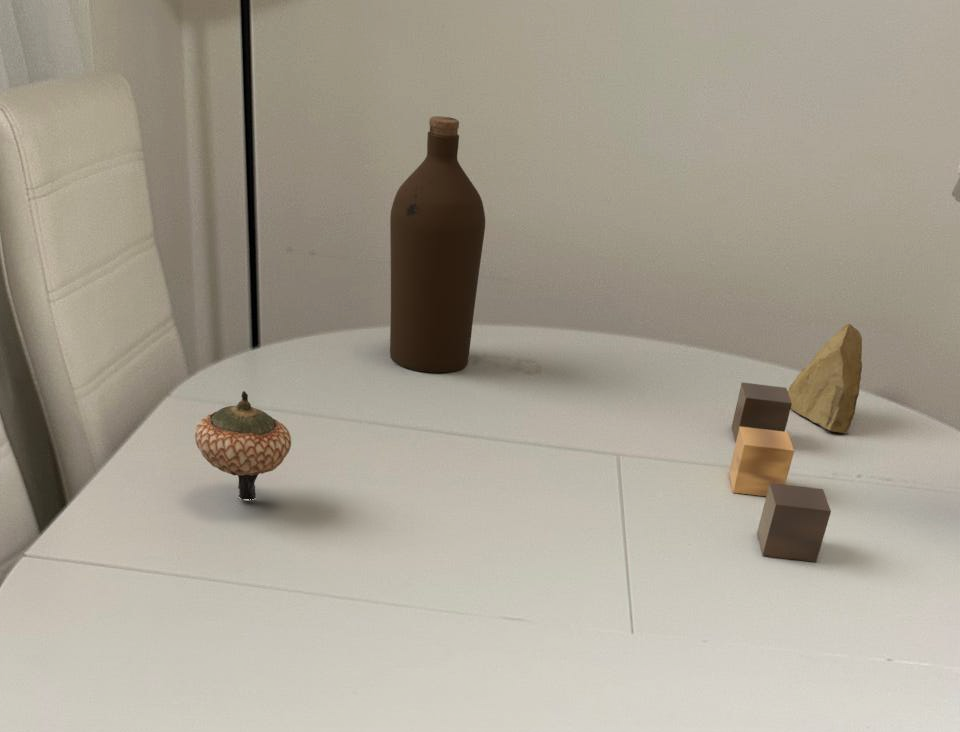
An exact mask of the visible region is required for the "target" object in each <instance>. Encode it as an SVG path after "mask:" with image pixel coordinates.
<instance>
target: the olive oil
mask: <svg viewBox="0 0 960 732" xmlns="http://www.w3.org/2000/svg"><path fill="white" fill-rule="evenodd" d="M428 125H429V131H427V141H426V143H427V144H426V156H425V158H424V160H423V161H422V162H421V163H420V164H419V165H418V166H417V167H416V169H414V171H413V172H412V173H411V174H410V175H408V177H407V178H406V179H405V180H404V181H403V182H402V184H401V185H399V188H398V189H397V190H396V193H395V196H394V199H393V202H392V205H391V209H390V216H389V217H390V218H389V220H390V221H389V224H390V225H389V227H390V229H389V230H390V231H389V232H390V235H389V236H390V238H389V239H390V328H389V330H390V332H389V336H390V337H389V357H390V359H391V360H392V361H393V362H394V363H395V364H397V365H398V366H400V367H403V368H406V369H409V370H413V371H419V372H426V373H451V372H456V371H460V370H462V369H464V368H465V367H466V366H468V364H469V360H470V351H471V341H472V332H473V325H474V323H473V322H474V315H475V308H476V307H475V306H476V298H477V291H478V282H479V275H480V270H481V269H480V268H481V262H482V253H483V246H484V239H485V231H486V213H485V208H484V207H485V206H484V204H483V203H484V202H483V200H482V197H481V195H480V193H479V191H478V190H477V188H476V187H475V185H474V184H473V182H472V181H471V179H470V178H469V177H468V174H467V173H466V172H465V170H464V169H463V168H462V166H461V164H460V162H459V159H458V155H459V153H458V152H459V144H460V141H459V140H460V135H459V134H458V132H459V128H460V121H459V120H458V119H457V118H454V117H450V116H441V115H440V116H431V117H430V118H429V123H428Z"/></svg>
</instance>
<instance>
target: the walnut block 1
mask: <svg viewBox="0 0 960 732" xmlns="http://www.w3.org/2000/svg"><path fill="white" fill-rule="evenodd" d="M788 391H789V390H788V389H787V387H784V386H775V385H768V384H759V383H752V382H751V383H750V382H741V384H740V388H739V392H738V397H737V400H736V405H735V408H734V409H735V410H734V415H733V419H732V423H731V430H732V434H733V438H734V442H735V444H736V439H737V435H738V431H739V427H740V426H741V427H749V428H758V429H766V430H775V431H783V432H786V428H787V424H788V420H789V417H790V413H791V410H792V409H791V405H792V402H791V399H790V397H789V394H788Z"/></svg>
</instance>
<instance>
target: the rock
mask: <svg viewBox="0 0 960 732" xmlns="http://www.w3.org/2000/svg"><path fill="white" fill-rule="evenodd" d="M862 342H863V337H862V334H861V333H860V331H859V330H858V329H857V328H856V327H854V326H853V325H852V324H850V323H845V324H844V325H843V327H842V328H841V329H840V330H839V331H838V332H837V333H836V334H834V335H833V336H832V337H831V338H830V340H827V342H826V343H825V344H824V345H823V346H822V348H821V349H820V350H819V351H818V352H817V353H816V354H815V355H814V357H813V358H812V361H809V364H808V365H806V366H805V367H804V368H803V369H802V370H801V371H800V372H799V373H798V374H797V376H796V377H795V379H793V381H792V382H791V384H790V386H789V387H788V390H787V391H788V394H789V397H790V399H791V402H792V405H791V409H790V410H792V411H794V412H795V413H797V414H798V415H800V416H802V417H804V418H806V419H808V420H809V421H810V422H812V423H814V424H817V425H819V426H821V428H823V429H825V430H827V431H829V432H833V433H840V434H847V432H848V431H849V428H850V427H851V424H852V423H851V422H852V420H853V419H854V416H855V414H856V406H857V401H858V398H859V395H860V384H861V380H862V371H863V362H862V355H863V353H862V352H863V343H862Z"/></svg>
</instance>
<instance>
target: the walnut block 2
mask: <svg viewBox="0 0 960 732" xmlns="http://www.w3.org/2000/svg"><path fill="white" fill-rule="evenodd" d="M831 513H832V509H831V507H830V504H829V502H828V499H827V496H826V493H825V490H824V489H823V488H819V487H818V488H816V487H809V486H801V485H794V484H793V485H791V484H776V483H770V484H769V488H768V492H767V496H765V500H764V504H763V508H762V511H761V516H760V520H759V523H758V528H757V531H756V534H757V538H758V543H759V546H760V551H761V554H762V556H763V557H771V558H779V559H787V560H793V561H801V562H802V561H803V562H810V563H817V561H818V558H819V554H820V551H821V547H822V544H823V540H824V538H825V533H826V530H827V527H828V524H829V521H830V516H831Z"/></svg>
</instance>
